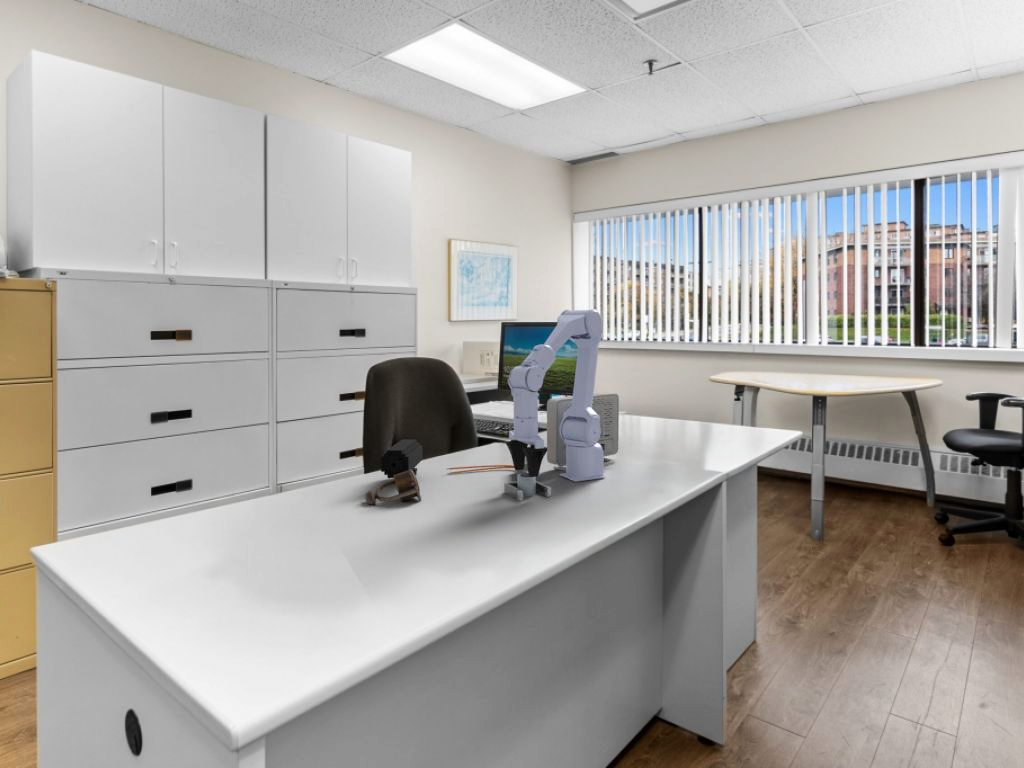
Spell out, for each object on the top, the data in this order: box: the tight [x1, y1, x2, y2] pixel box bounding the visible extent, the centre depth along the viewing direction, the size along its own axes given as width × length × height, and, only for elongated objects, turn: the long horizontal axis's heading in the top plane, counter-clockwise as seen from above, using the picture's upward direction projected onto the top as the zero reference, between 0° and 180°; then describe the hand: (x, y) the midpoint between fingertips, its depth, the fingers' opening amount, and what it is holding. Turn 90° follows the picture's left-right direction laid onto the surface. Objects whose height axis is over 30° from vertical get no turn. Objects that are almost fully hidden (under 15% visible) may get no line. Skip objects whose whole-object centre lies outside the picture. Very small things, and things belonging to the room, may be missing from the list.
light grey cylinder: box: [516, 471, 537, 497], centre depth 151 cm, size 4×4×5 cm
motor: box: [446, 456, 528, 476], centre depth 165 cm, size 23×22×5 cm
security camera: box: [380, 438, 424, 479], centre depth 163 cm, size 7×18×10 cm, turn 175°
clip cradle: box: [503, 480, 552, 502], centre depth 150 cm, size 8×9×2 cm
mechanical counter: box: [365, 470, 422, 506], centre depth 146 cm, size 7×13×10 cm
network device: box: [546, 392, 620, 472], centre depth 180 cm, size 26×9×20 cm, turn 130°
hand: (526, 473), depth 151 cm, fingers open, 7 cm apart
